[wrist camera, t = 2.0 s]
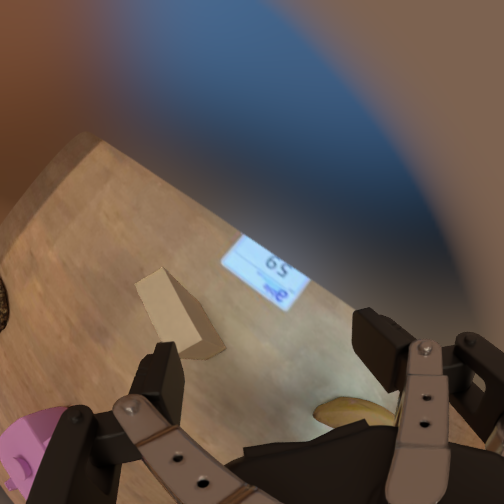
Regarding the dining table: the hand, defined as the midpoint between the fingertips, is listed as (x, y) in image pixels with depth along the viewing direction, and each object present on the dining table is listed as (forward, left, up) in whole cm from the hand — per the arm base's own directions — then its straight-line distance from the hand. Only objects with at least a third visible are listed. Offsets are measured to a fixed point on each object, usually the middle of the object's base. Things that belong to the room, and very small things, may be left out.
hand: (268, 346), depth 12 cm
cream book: (+4, -5, -16) cm, 17 cm away
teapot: (+28, +1, -16) cm, 32 cm away
